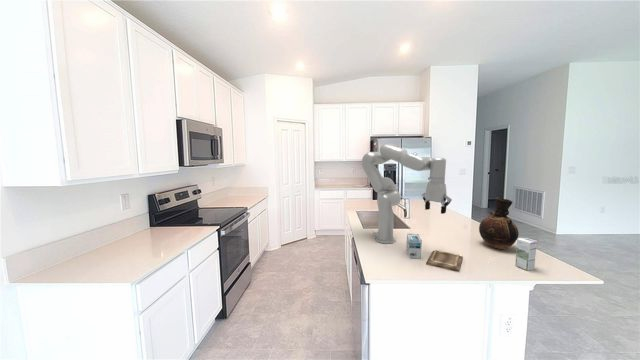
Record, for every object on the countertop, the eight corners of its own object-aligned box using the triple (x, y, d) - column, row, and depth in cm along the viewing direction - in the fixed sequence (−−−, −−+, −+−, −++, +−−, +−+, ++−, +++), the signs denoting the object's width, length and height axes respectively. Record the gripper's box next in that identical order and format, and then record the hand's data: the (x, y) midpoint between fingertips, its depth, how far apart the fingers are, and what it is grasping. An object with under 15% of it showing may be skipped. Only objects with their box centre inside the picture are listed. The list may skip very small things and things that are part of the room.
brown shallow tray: (426, 264, 128) (426, 260, 127) (432, 252, 142) (432, 248, 142) (459, 272, 119) (459, 267, 119) (462, 258, 134) (462, 254, 134)
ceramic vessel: (471, 241, 159) (473, 195, 156) (496, 239, 161) (499, 194, 157) (496, 254, 138) (500, 202, 135) (525, 253, 140) (530, 201, 136)
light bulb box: (421, 259, 134) (422, 240, 133) (408, 258, 135) (409, 239, 134) (417, 251, 144) (418, 233, 143) (405, 250, 146) (406, 232, 144)
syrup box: (535, 269, 121) (537, 240, 120) (527, 271, 119) (529, 242, 117) (522, 264, 127) (524, 236, 125) (514, 266, 124) (516, 238, 123)
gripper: (418, 179, 139) (417, 208, 141) (447, 183, 124) (445, 216, 126) (427, 178, 143) (425, 207, 145) (456, 182, 128) (454, 214, 130)
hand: (435, 211), depth 136 cm, fingers open, 9 cm apart
